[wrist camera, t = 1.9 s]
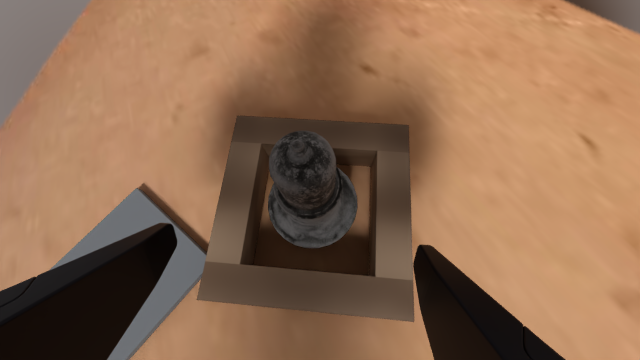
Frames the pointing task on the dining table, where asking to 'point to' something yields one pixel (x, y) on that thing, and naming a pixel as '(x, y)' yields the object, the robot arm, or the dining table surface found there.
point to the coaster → (171, 285)
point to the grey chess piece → (309, 191)
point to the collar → (308, 285)
